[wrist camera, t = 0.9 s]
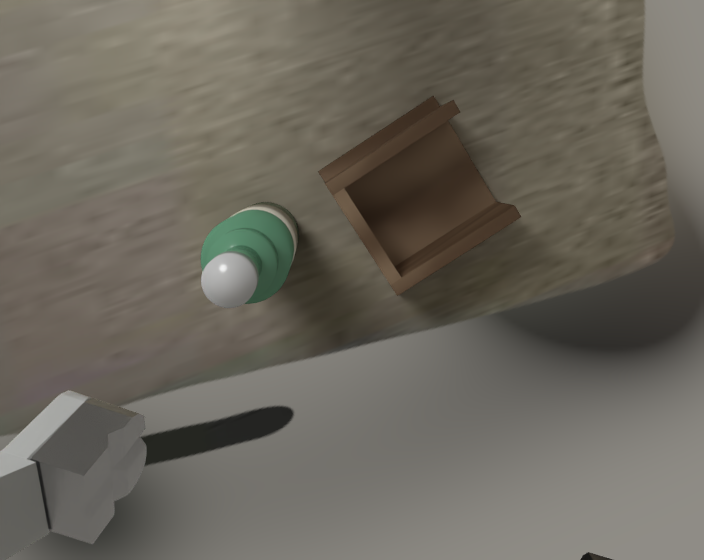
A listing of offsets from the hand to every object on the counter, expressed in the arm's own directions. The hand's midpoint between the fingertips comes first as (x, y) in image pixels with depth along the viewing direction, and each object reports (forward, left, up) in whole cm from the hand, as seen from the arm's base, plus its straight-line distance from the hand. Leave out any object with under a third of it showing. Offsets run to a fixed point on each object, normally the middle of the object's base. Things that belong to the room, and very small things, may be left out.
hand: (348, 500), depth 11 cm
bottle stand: (+1, +8, -41) cm, 41 cm away
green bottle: (-3, -4, -41) cm, 41 cm away
